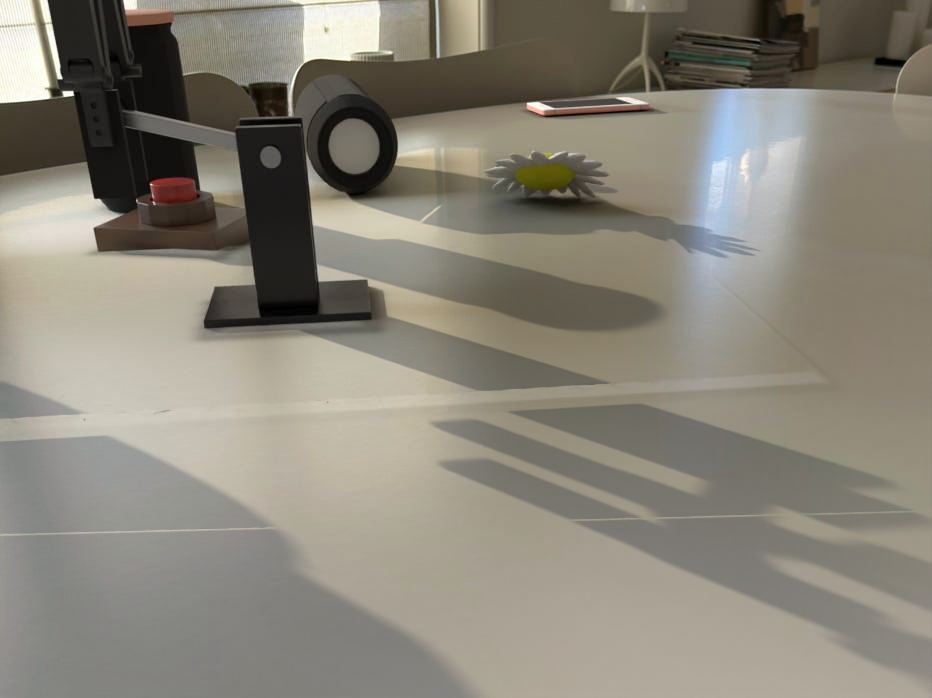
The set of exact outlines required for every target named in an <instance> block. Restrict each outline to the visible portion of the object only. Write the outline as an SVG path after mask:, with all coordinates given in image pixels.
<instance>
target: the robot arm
mask: <svg viewBox="0 0 932 698" xmlns="http://www.w3.org/2000/svg"><path fill="white" fill-rule="evenodd" d="M46 1H47V6H48V11H49V16H50V22H51V27H52V31H53V36H54V41H55V47H56V53H57V57H58V62H59V73H60V76H61V78H58V79H56V81H57V86H58V89H59V91H60V92H72V93H73V98H74V104H75V108H76V114H77V117H78V125H79V129H80V135H81V138H82V145H83V149H84V154H85V159H86V165H87V170H88V174H89V181H90V184H91V190H92V196H93V200H100V199H115V198H135V197H136V196H137V195H136V189H135V183H134V182H147V181H148V180H149V179H148V173H147V167H146V161H145V155H144V149H143V143H142V137H141V131H140V130H137V129H132V128H127V127H125V126H124V120H123V114H122V108H121V103H120V99H122V100H123V102H124V103H125V105H126V107H127V109H129V110H134V111H137V107H136V101H135V95H134V89H133V83H132V79H125V77H142V68H141V64H133V62H134V53H133V51H132V49H131V43H130V37H129V31H128V25H127V19H126V13H125V10H126V7H125V1H124V0H46Z"/></svg>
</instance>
